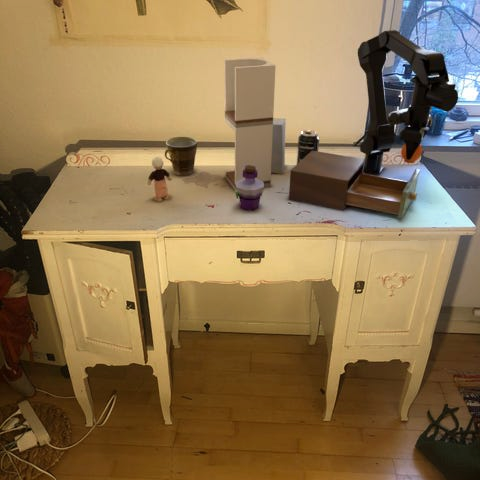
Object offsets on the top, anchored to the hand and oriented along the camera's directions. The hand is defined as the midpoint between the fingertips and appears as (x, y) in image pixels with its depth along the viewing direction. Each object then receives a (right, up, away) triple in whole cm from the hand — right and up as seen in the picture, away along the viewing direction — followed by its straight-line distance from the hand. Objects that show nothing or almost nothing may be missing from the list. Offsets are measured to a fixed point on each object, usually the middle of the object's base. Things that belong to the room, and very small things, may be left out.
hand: (410, 156), depth 159 cm
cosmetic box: (-40, +1, +18) cm, 44 cm away
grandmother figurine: (-75, -14, -1) cm, 76 cm away
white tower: (-49, -6, +9) cm, 50 cm away
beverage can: (-29, +1, +18) cm, 34 cm away
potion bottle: (-49, -17, -5) cm, 52 cm away
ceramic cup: (-71, -1, +15) cm, 73 cm away
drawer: (-10, -14, -4) cm, 18 cm away
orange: (0, -1, +1) cm, 2 cm away
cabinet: (-25, -11, +3) cm, 27 cm away
